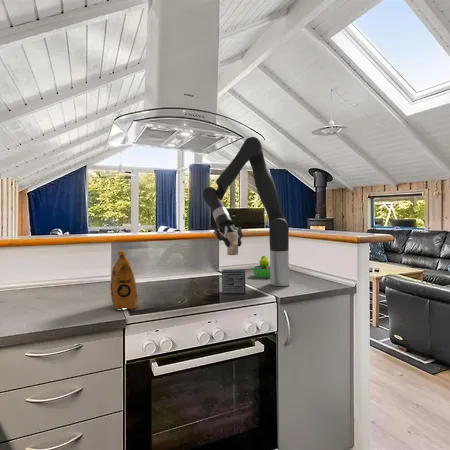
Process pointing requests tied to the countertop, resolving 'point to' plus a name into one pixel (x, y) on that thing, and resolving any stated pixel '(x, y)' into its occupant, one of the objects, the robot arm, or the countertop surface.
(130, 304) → the coffee package
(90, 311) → the countertop surface
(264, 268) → the fruit basket
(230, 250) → the birch cylinder
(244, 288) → the small box
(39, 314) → the countertop surface
